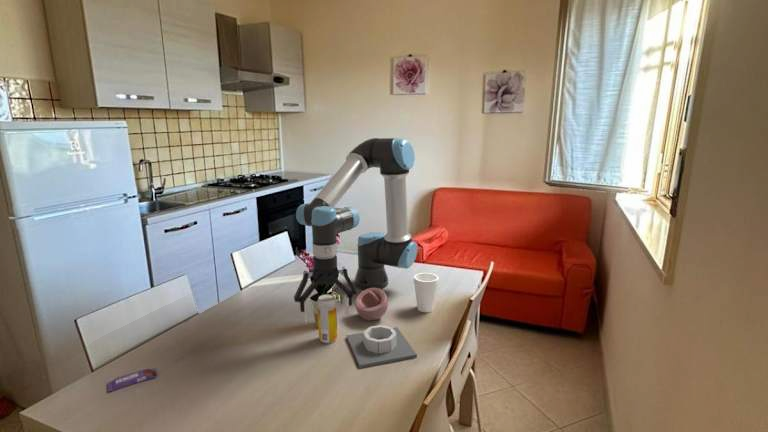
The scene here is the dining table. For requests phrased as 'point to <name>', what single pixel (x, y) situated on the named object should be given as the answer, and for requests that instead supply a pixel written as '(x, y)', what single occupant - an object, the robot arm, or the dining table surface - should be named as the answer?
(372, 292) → the mortar and pestle
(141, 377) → the snack package
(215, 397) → the dining table surface
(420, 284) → the foam cup
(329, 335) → the beer can
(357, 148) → the robot arm
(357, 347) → the socket
